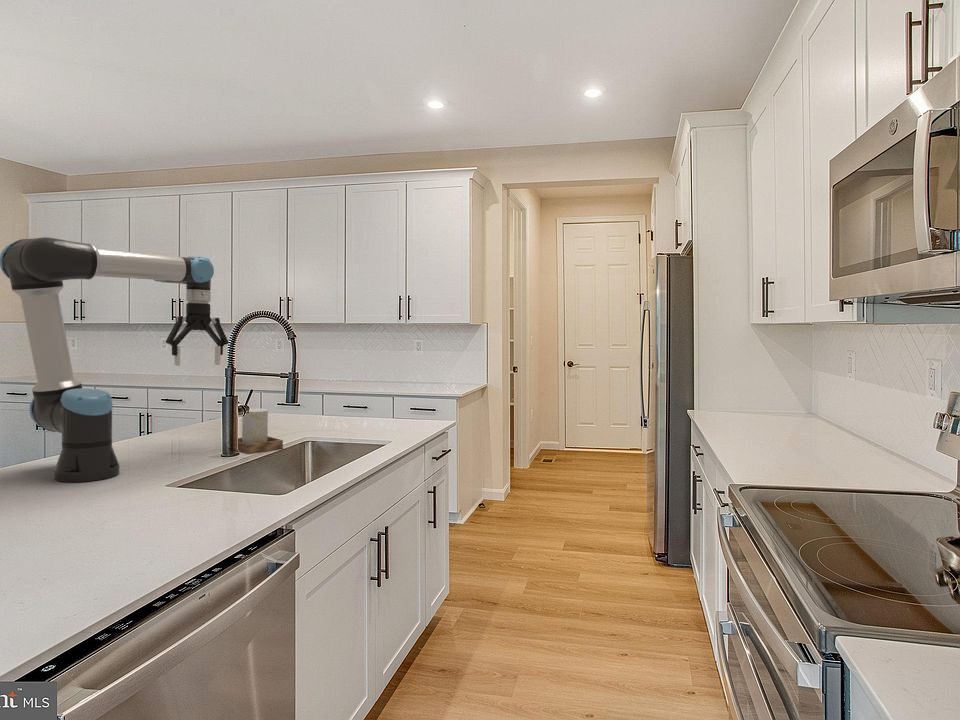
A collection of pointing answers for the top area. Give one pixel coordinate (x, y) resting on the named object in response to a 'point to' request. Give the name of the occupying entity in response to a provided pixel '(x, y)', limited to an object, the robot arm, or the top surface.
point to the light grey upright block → (255, 426)
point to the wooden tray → (260, 446)
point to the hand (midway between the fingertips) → (197, 365)
